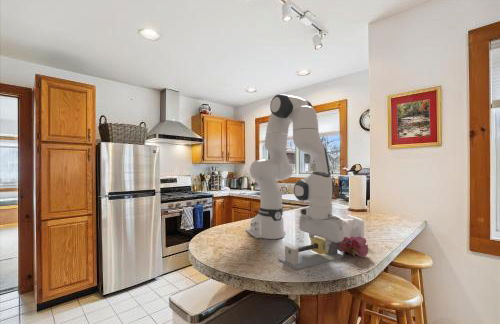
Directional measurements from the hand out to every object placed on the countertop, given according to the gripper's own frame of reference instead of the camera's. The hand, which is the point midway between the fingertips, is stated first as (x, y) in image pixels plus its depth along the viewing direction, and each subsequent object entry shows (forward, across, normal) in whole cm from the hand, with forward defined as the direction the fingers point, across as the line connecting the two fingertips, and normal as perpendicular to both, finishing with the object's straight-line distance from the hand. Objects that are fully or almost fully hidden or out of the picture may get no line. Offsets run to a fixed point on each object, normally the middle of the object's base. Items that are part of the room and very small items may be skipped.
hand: (319, 247), depth 96 cm
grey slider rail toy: (+4, 0, +4) cm, 6 cm away
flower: (+4, -6, -13) cm, 14 cm away
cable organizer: (+4, +8, -27) cm, 29 cm away
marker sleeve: (+2, 0, 0) cm, 2 cm away
